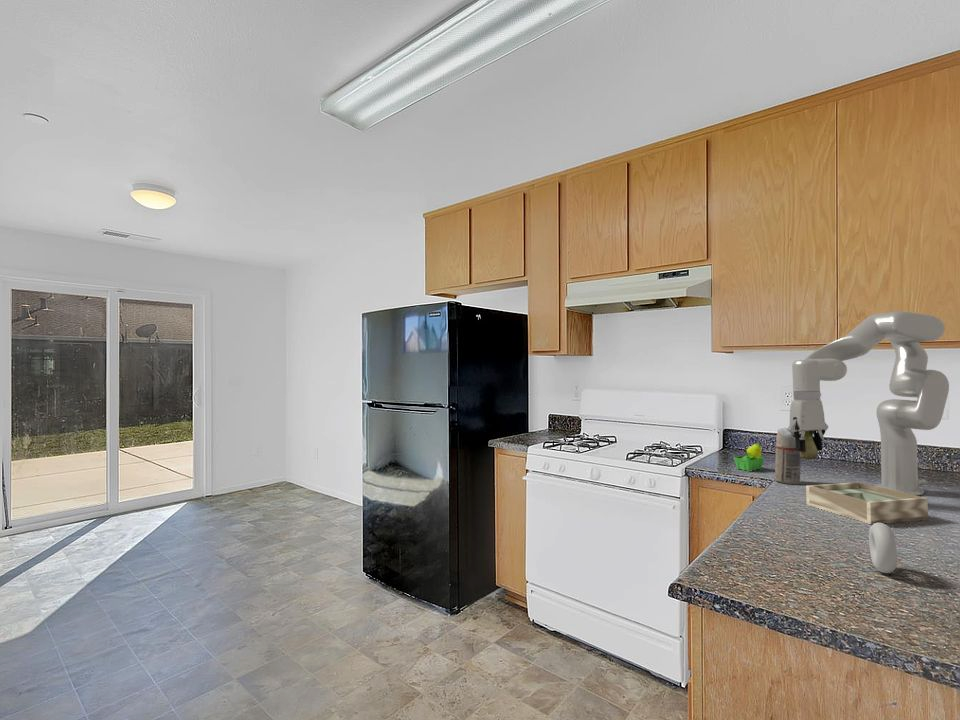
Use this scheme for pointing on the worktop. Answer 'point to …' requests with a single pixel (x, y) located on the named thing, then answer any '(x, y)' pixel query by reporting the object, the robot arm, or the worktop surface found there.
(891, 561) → the donut
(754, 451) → the fruit basket
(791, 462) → the spray can
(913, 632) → the worktop surface
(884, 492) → the open wooden box
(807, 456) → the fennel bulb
